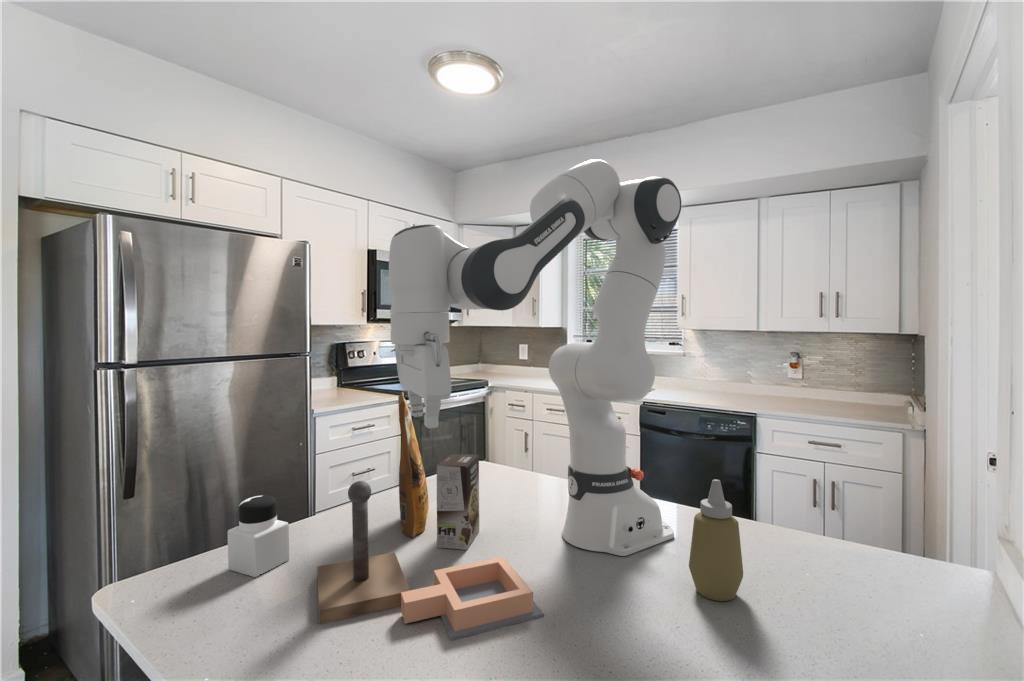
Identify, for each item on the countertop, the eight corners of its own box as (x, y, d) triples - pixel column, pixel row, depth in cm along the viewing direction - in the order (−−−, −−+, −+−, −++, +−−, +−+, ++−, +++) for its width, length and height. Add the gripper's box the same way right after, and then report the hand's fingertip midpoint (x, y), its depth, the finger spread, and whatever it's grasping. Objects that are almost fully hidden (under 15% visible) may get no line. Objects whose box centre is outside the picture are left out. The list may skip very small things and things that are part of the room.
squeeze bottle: (718, 612, 73) (719, 492, 73) (677, 586, 80) (678, 477, 80) (754, 598, 77) (756, 483, 76) (712, 574, 84) (713, 470, 84)
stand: (394, 563, 89) (393, 465, 88) (409, 603, 76) (408, 489, 75) (317, 577, 84) (315, 474, 83) (319, 623, 71) (316, 501, 70)
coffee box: (468, 550, 94) (467, 466, 93) (435, 547, 95) (434, 464, 94) (480, 530, 103) (480, 453, 102) (451, 528, 104) (450, 452, 103)
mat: (507, 572, 86) (507, 569, 86) (543, 616, 73) (543, 613, 73) (428, 589, 80) (428, 586, 80) (451, 640, 67) (451, 637, 67)
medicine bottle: (290, 560, 90) (288, 495, 90) (255, 578, 84) (253, 508, 83) (263, 552, 93) (261, 490, 93) (227, 570, 87) (225, 502, 86)
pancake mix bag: (390, 542, 97) (387, 401, 96) (401, 506, 116) (400, 388, 115) (424, 541, 98) (422, 400, 97) (430, 505, 117) (429, 387, 116)
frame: (503, 573, 84) (503, 556, 84) (533, 611, 73) (533, 591, 73) (396, 596, 77) (396, 578, 77) (411, 642, 66) (410, 620, 66)
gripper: (460, 332, 67) (464, 432, 68) (425, 330, 86) (428, 408, 87) (414, 334, 65) (418, 438, 66) (388, 331, 84) (392, 412, 84)
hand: (423, 421), depth 76 cm, fingers open, 8 cm apart
